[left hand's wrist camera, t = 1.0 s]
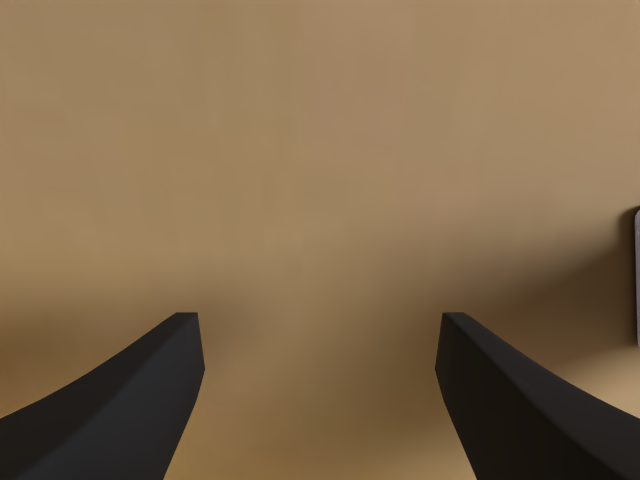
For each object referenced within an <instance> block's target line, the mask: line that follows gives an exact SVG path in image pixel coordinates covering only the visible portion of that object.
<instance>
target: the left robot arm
mask: <svg viewBox="0 0 640 480" xmlns="http://www.w3.org/2000/svg"><path fill="white" fill-rule="evenodd" d="M635 251H636V294H637V338H638V346H639V347H640V210H639V211H638V212H637V214H636V216H635ZM204 371H205V366H204V358H203V351H202V343H201V336H200V328H199V321H198V314H197V313H175V314H173V315H172V316H170V317H169V318H167V319H166V320H164V321H163V322H162V323H160V324H159V325H157V326H156V327H155V328H153V329H152V330H151V331H149V332H148V333H146V334H145V335H144V336H142V337H141V338H139V339H138V340H137V341H135V342H134V343H132V344H131V345H130V346H128V347H127V348H125V349H124V350H122V351H121V352H119V353H118V354H116V355H115V356H113V357H112V358H110V359H109V360H107V361H106V362H104V363H103V364H101V365H100V366H98V367H96V368H95V369H93V370H92V371H90V372H89V373H87V374H85V375H84V376H82V377H81V378H79V379H77V380H75V381H74V382H72V383H70V384H68V385H67V386H65V387H63V388H61V389H59V390H58V391H56V392H54V393H52V394H50V395H48V396H47V397H45V398H43V399H41V400H39V401H37V402H35V403H33V404H30V405H28V406H26V407H24V408H22V409H20V410H18V411H16V412H14V413H12V414H10V415H8V416H5V417H3V418H1V419H0V480H163V479H164V476H165V474H166V471H167V469H168V467H169V464H170V462H171V460H172V457H173V455H174V452H175V450H176V448H177V445H178V443H179V441H180V438H181V436H182V434H183V431H184V429H185V427H186V424H187V422H188V420H189V417H190V415H191V412H192V410H193V408H194V405H195V403H196V400H197V396H198V393H199V390H200V386H201V382H202V379H203V375H204ZM435 371H436V375H437V379H438V382H439V386H440V390H441V393H442V396H443V400H444V403H445V405H446V408H447V410H448V412H449V415H450V417H451V420H452V422H453V424H454V427H455V429H456V431H457V434H458V436H459V438H460V441H461V443H462V445H463V448H464V450H465V452H466V455H467V457H468V460H469V462H470V464H471V467H472V469H473V471H474V474H475V476H476V479H477V480H640V419H639V418H637V417H635V416H633V415H631V414H628V413H626V412H624V411H622V410H620V409H618V408H616V407H614V406H612V405H610V404H608V403H606V402H604V401H602V400H600V399H598V398H596V397H594V396H592V395H590V394H588V393H587V392H585V391H583V390H581V389H579V388H577V387H576V386H574V385H572V384H570V383H568V382H567V381H565V380H563V379H562V378H560V377H558V376H556V375H555V374H553V373H552V372H550V371H548V370H547V369H545V368H544V367H542V366H541V365H539V364H537V363H536V362H534V361H533V360H531V359H530V358H528V357H527V356H525V355H524V354H522V353H521V352H519V351H518V350H516V349H515V348H513V347H512V346H511V345H509V344H508V343H506V342H505V341H504V340H502V339H501V338H499V337H498V336H497V335H495V334H494V333H492V332H491V331H490V330H488V329H487V328H486V327H484V326H483V325H481V324H480V323H479V322H477V321H476V320H474V319H473V318H471V317H470V316H468V315H467V314H465V313H443V314H442V321H441V328H440V336H439V343H438V351H437V358H436V366H435Z"/></svg>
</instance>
